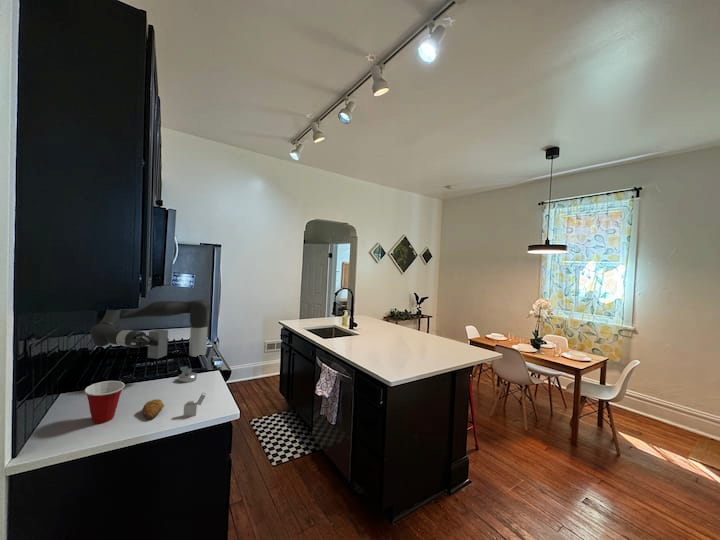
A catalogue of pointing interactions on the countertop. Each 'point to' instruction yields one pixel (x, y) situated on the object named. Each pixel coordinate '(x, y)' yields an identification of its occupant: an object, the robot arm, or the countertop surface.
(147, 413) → the croissant
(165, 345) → the gray rectangular block
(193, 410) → the lighter
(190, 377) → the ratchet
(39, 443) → the countertop surface
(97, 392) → the plastic cup
